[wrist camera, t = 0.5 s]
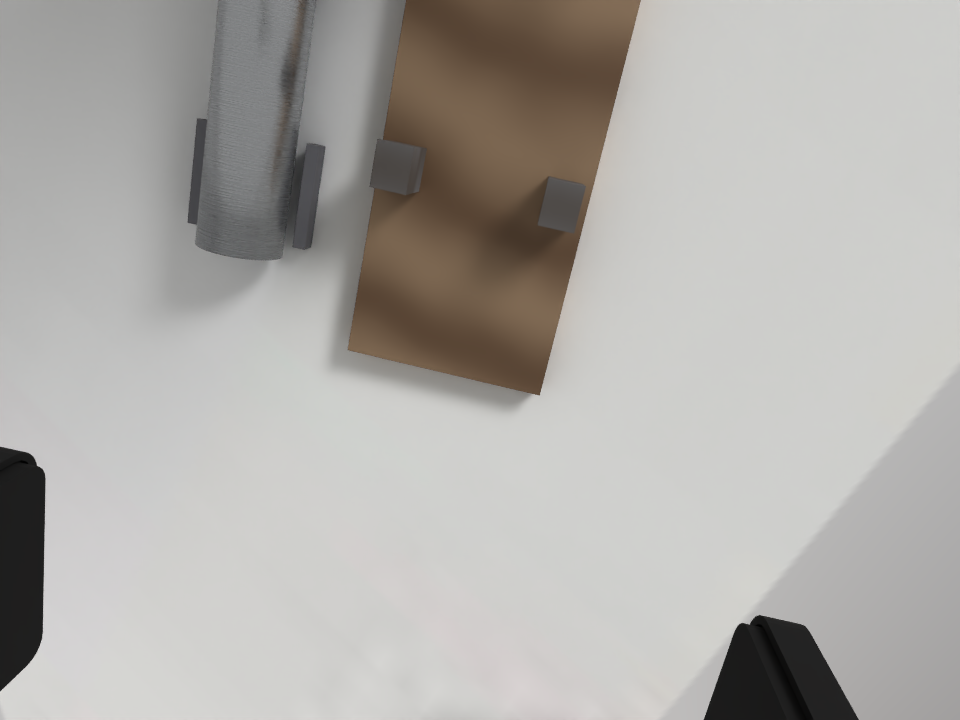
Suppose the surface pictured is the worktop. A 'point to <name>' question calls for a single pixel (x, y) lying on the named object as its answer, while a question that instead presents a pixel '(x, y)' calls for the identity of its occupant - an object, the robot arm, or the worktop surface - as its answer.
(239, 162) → the tube
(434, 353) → the brown board
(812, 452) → the worktop surface
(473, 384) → the worktop surface
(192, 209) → the set of grey slats
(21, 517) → the robot arm
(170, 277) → the worktop surface
